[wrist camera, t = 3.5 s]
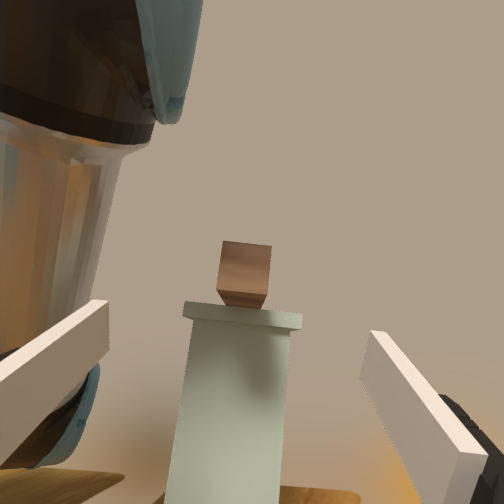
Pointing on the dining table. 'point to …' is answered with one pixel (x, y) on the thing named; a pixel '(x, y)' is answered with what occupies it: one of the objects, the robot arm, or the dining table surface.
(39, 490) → the dining table surface
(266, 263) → the walnut bar
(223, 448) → the stand
